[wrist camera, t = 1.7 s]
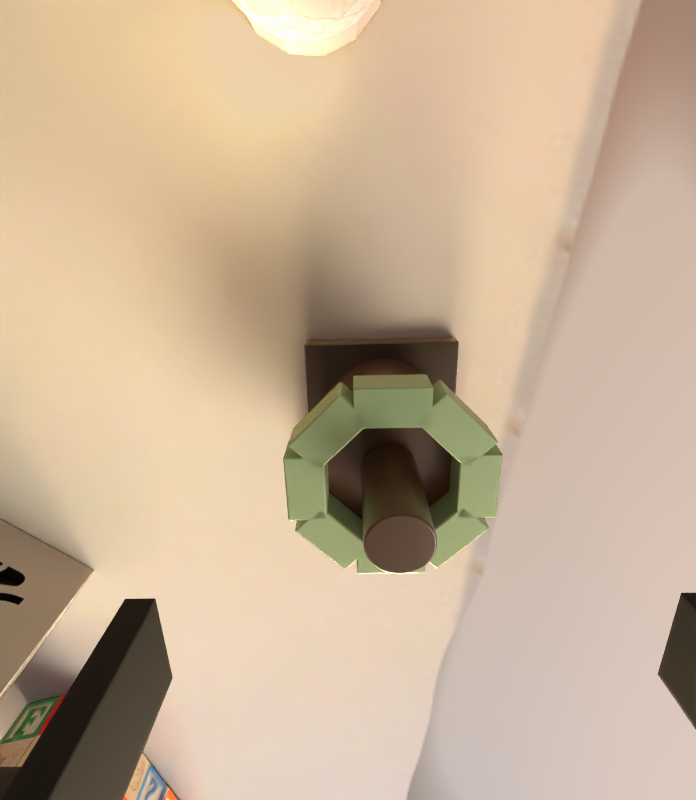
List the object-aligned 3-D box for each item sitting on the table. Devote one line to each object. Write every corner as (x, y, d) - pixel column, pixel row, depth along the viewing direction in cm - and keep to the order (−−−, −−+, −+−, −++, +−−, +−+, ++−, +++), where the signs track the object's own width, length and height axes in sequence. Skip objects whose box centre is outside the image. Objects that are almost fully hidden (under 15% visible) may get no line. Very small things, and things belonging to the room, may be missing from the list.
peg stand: (454, 337, 24) (540, 430, 13) (446, 468, 27) (512, 637, 16) (306, 340, 25) (266, 435, 13) (313, 470, 27) (285, 638, 16)
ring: (497, 372, 18) (510, 385, 16) (480, 548, 21) (490, 573, 19) (283, 376, 18) (277, 390, 17) (297, 550, 21) (292, 575, 20)
